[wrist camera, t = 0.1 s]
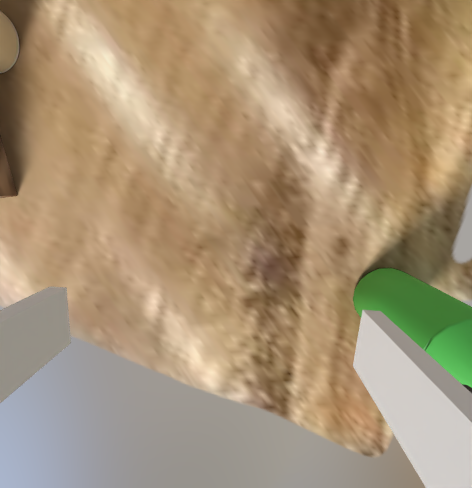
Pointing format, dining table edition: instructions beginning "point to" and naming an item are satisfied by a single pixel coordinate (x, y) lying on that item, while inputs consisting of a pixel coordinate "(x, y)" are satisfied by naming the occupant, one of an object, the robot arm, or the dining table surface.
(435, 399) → the robot arm
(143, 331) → the dining table surface
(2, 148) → the block bottom
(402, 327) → the bottle
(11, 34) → the coffee cup
